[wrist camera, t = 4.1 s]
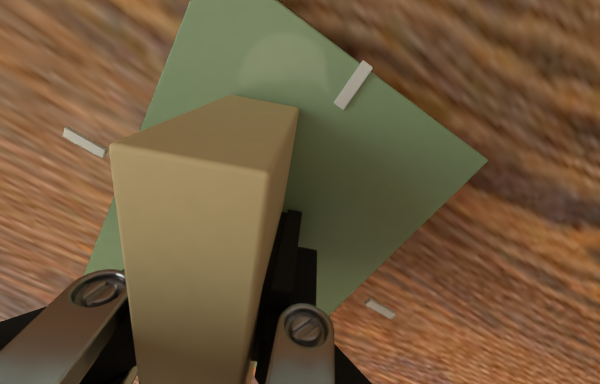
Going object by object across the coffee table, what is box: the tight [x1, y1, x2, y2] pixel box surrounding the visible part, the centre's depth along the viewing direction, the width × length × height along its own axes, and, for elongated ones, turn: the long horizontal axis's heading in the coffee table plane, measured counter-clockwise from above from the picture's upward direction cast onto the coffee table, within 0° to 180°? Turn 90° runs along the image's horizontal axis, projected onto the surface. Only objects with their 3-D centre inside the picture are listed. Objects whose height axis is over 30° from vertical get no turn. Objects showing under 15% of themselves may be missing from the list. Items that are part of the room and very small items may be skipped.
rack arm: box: [109, 95, 299, 384], centre depth 8 cm, size 10×2×6 cm, turn 170°
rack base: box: [63, 0, 488, 367], centre depth 12 cm, size 14×14×3 cm
